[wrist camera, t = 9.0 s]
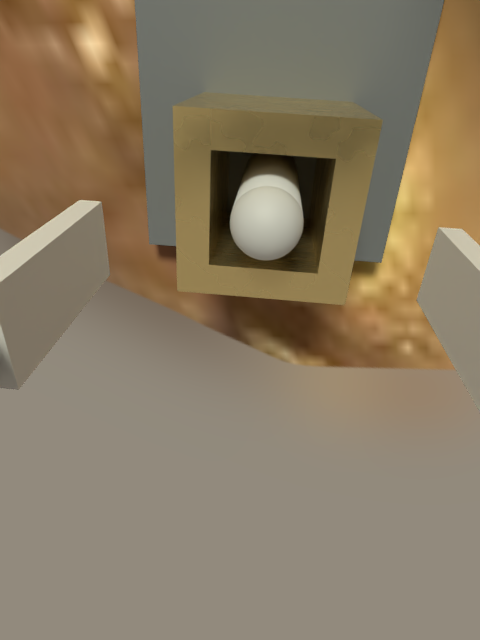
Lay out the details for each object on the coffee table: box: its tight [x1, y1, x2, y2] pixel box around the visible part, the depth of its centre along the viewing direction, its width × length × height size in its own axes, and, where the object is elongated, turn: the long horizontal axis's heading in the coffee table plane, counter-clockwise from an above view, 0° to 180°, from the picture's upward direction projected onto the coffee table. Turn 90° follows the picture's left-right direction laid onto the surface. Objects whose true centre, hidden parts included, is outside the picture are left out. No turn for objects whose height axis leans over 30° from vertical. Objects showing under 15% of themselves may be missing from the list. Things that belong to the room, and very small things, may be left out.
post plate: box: [135, 0, 444, 263], centre depth 18 cm, size 15×22×12 cm
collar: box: [173, 92, 383, 305], centre depth 22 cm, size 8×8×8 cm
